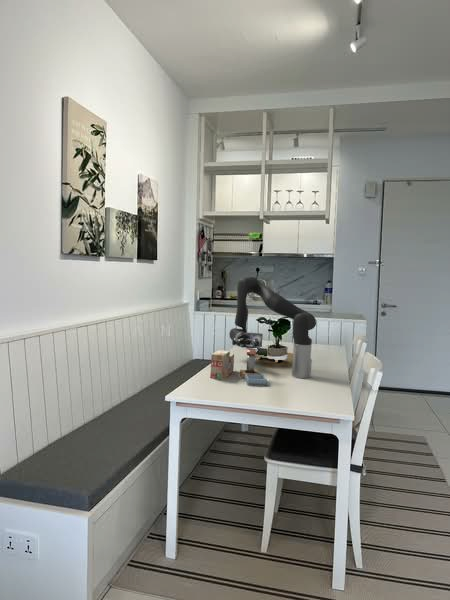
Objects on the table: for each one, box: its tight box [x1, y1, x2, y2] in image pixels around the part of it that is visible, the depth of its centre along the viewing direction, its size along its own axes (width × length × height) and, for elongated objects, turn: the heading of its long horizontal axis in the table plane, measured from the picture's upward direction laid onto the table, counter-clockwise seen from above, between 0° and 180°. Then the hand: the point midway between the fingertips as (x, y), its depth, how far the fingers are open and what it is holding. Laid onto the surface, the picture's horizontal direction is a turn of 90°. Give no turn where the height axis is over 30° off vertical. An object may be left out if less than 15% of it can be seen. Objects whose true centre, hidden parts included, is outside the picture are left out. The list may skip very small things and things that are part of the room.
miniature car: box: [256, 345, 269, 356], centre depth 288 cm, size 9×18×8 cm, turn 58°
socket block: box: [239, 369, 262, 381], centre depth 240 cm, size 9×9×3 cm
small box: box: [245, 332, 263, 349], centre depth 324 cm, size 11×6×10 cm, turn 81°
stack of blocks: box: [209, 349, 235, 380], centre depth 244 cm, size 21×6×12 cm, turn 164°
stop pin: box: [245, 349, 257, 373], centre depth 240 cm, size 5×5×14 cm
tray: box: [244, 374, 268, 387], centre depth 230 cm, size 9×9×3 cm
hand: (247, 344), depth 250 cm, fingers open, 8 cm apart
